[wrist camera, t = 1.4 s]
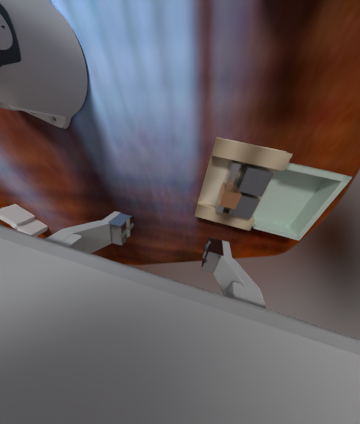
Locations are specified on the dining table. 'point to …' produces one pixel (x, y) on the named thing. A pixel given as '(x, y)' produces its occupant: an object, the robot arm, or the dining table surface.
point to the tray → (297, 199)
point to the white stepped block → (22, 220)
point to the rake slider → (229, 189)
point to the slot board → (218, 169)
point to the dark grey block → (254, 180)
